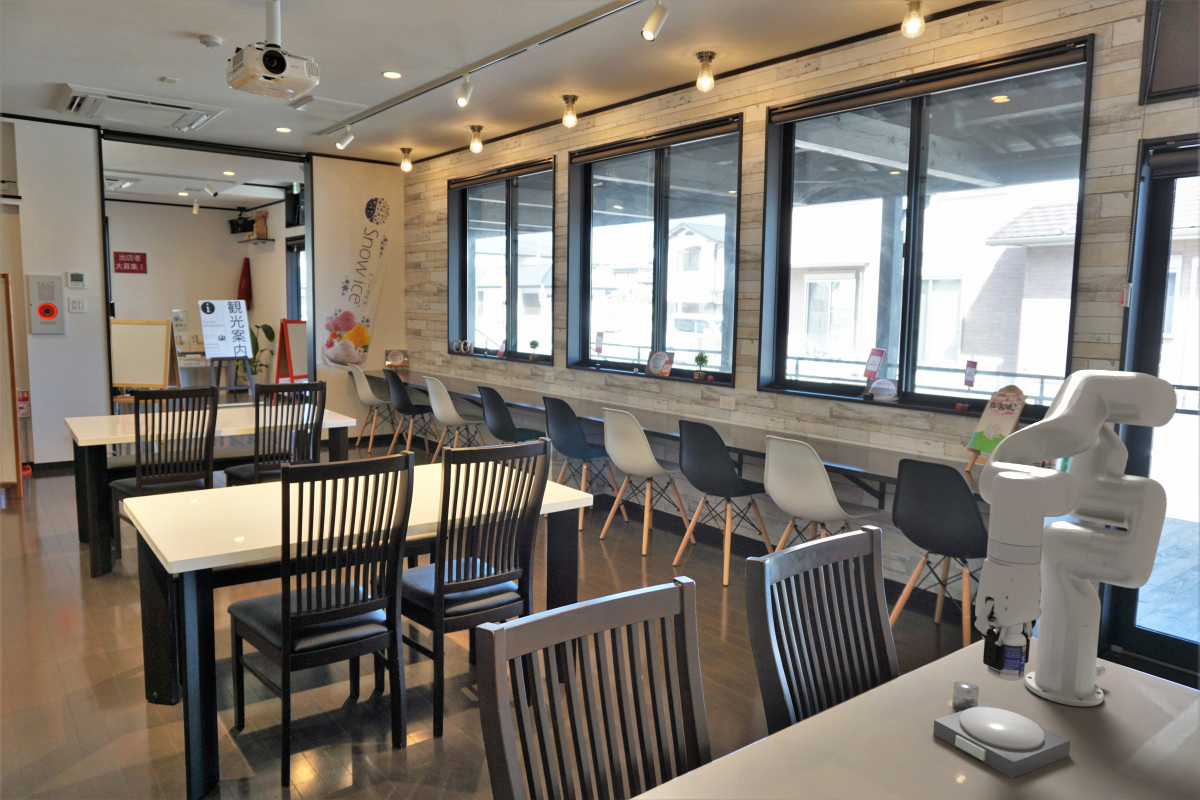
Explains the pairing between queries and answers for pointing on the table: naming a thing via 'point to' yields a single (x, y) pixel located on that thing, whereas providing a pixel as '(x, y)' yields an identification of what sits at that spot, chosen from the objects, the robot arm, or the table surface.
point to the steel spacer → (965, 695)
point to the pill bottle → (1012, 654)
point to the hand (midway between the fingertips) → (1005, 662)
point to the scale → (1002, 739)
